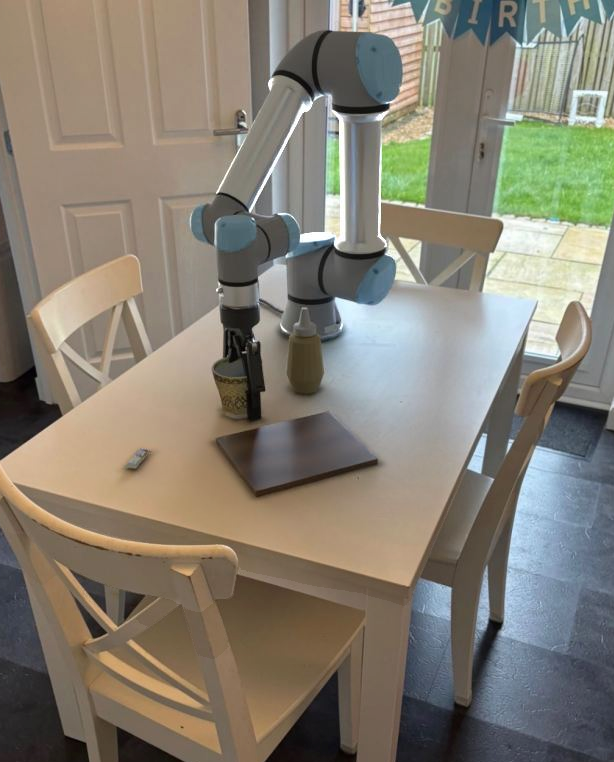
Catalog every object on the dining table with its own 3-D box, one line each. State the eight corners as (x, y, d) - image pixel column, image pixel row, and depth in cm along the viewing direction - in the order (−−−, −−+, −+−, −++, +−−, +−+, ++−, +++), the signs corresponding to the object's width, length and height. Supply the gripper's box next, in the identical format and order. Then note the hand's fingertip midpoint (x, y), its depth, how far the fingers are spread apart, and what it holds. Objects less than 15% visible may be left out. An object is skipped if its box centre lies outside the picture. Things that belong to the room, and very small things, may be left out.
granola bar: (135, 471, 140) (134, 466, 140) (123, 469, 141) (123, 464, 140) (152, 452, 146) (151, 447, 145) (140, 450, 146) (140, 446, 146)
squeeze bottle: (330, 384, 169) (331, 304, 159) (314, 400, 163) (314, 318, 153) (296, 377, 172) (295, 298, 162) (279, 392, 166) (277, 311, 156)
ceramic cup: (244, 428, 154) (242, 382, 148) (205, 414, 158) (201, 369, 152) (282, 401, 163) (281, 357, 157) (243, 389, 167) (241, 346, 161)
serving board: (215, 443, 149) (215, 437, 148) (328, 416, 158) (328, 410, 157) (256, 497, 134) (255, 491, 133) (377, 464, 143) (378, 458, 142)
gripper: (201, 287, 154) (209, 390, 166) (242, 326, 137) (248, 437, 150) (236, 282, 157) (242, 383, 169) (281, 319, 140) (284, 428, 153)
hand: (245, 408), depth 159 cm, fingers closed on ceramic cup, 9 cm apart
